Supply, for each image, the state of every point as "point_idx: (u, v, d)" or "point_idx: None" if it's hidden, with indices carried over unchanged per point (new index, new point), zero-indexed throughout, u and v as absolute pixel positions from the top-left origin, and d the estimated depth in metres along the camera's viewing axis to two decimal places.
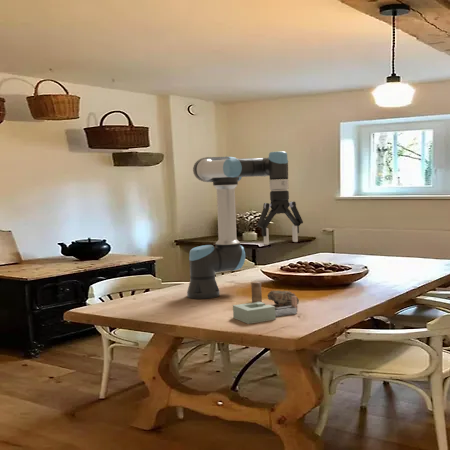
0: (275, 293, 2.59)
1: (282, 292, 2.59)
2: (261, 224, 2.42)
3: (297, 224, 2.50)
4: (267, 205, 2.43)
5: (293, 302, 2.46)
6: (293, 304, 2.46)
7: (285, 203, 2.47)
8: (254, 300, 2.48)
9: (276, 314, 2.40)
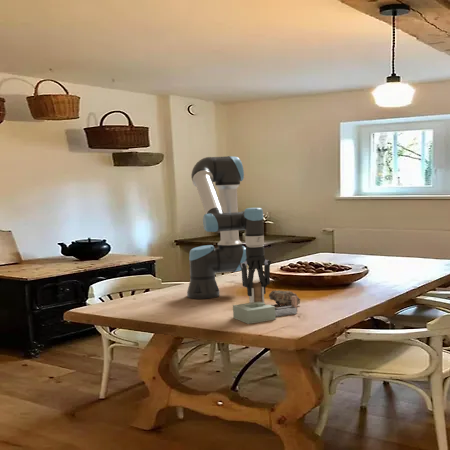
0: (276, 293, 2.59)
1: (283, 292, 2.59)
2: (246, 285, 2.46)
3: (263, 285, 2.50)
4: (243, 265, 2.45)
5: (293, 302, 2.46)
6: (293, 304, 2.46)
7: (261, 257, 2.49)
8: (254, 300, 2.48)
9: (276, 314, 2.40)
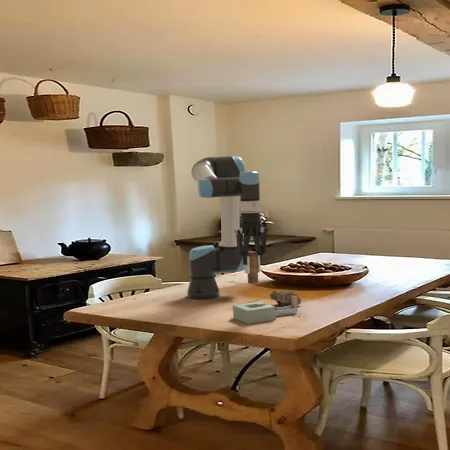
0: (277, 293, 2.59)
1: (284, 292, 2.59)
2: (241, 253, 2.33)
3: (260, 253, 2.37)
4: (238, 232, 2.32)
5: (293, 302, 2.46)
6: (293, 304, 2.46)
7: (257, 224, 2.36)
8: (250, 270, 2.35)
9: (276, 314, 2.40)
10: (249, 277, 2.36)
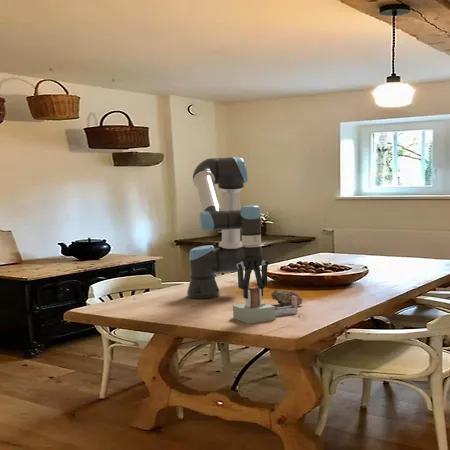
0: (278, 293, 2.59)
1: (285, 292, 2.59)
2: (242, 286, 2.34)
3: (261, 286, 2.38)
4: (239, 266, 2.33)
5: (293, 302, 2.46)
6: (293, 304, 2.46)
7: (258, 258, 2.37)
8: (251, 306, 2.36)
9: (276, 314, 2.40)
10: None
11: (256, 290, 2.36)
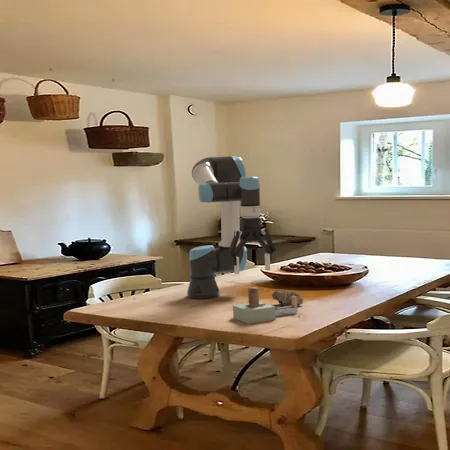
0: (279, 293, 2.59)
1: (286, 292, 2.59)
2: (231, 253, 2.31)
3: (270, 252, 2.39)
4: (237, 233, 2.32)
5: (293, 302, 2.46)
6: (293, 304, 2.46)
7: (257, 230, 2.36)
8: (251, 306, 2.36)
9: (276, 314, 2.40)
10: None
11: (256, 290, 2.36)
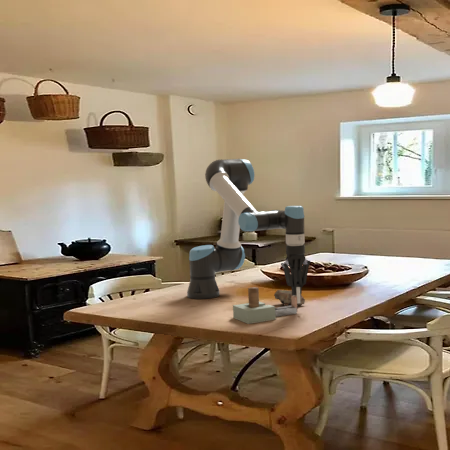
0: (281, 292, 2.59)
1: (288, 292, 2.59)
2: (291, 284, 2.44)
3: (300, 285, 2.46)
4: (285, 265, 2.42)
5: (293, 302, 2.46)
6: (293, 304, 2.46)
7: (302, 256, 2.46)
8: (251, 306, 2.36)
9: (276, 314, 2.40)
10: None
11: (256, 290, 2.36)
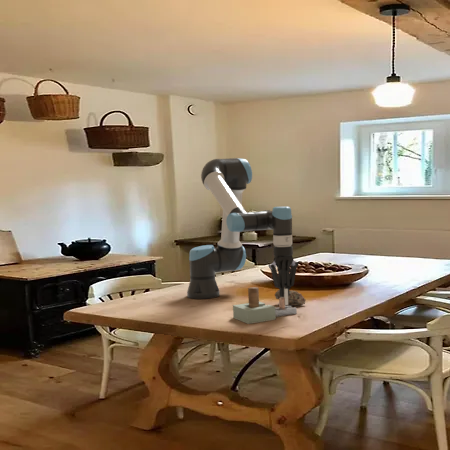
0: None
1: None
2: (278, 285, 2.41)
3: (287, 286, 2.43)
4: (272, 267, 2.40)
5: (281, 304, 2.43)
6: (281, 306, 2.43)
7: (290, 257, 2.43)
8: (251, 306, 2.36)
9: (276, 314, 2.40)
10: None
11: (256, 290, 2.36)
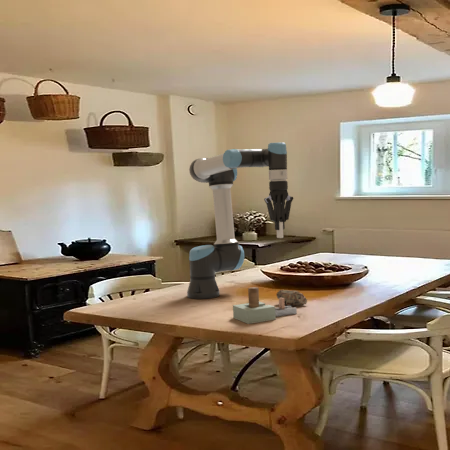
0: (283, 292, 2.59)
1: (290, 292, 2.59)
2: (274, 218, 2.50)
3: (283, 220, 2.52)
4: (268, 200, 2.49)
5: (280, 304, 2.43)
6: (280, 306, 2.43)
7: (285, 191, 2.52)
8: (251, 306, 2.36)
9: (276, 314, 2.40)
10: None
11: (256, 290, 2.36)
